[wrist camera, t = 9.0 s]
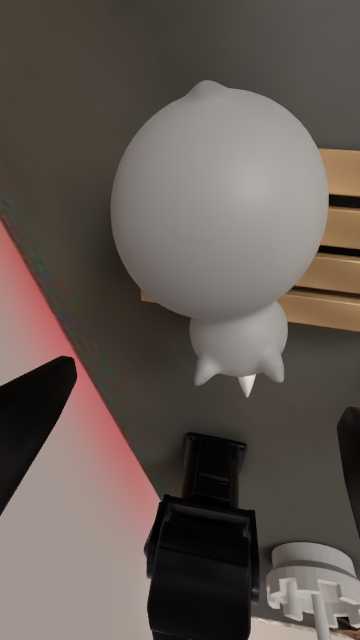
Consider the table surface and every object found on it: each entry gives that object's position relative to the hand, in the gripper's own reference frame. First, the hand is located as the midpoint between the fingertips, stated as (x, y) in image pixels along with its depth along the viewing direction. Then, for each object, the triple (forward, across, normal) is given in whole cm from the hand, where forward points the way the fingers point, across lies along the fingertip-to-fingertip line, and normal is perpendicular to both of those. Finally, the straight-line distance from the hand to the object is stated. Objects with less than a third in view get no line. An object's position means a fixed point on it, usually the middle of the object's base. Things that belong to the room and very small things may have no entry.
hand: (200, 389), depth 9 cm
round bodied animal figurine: (+9, 0, -2) cm, 9 cm away
